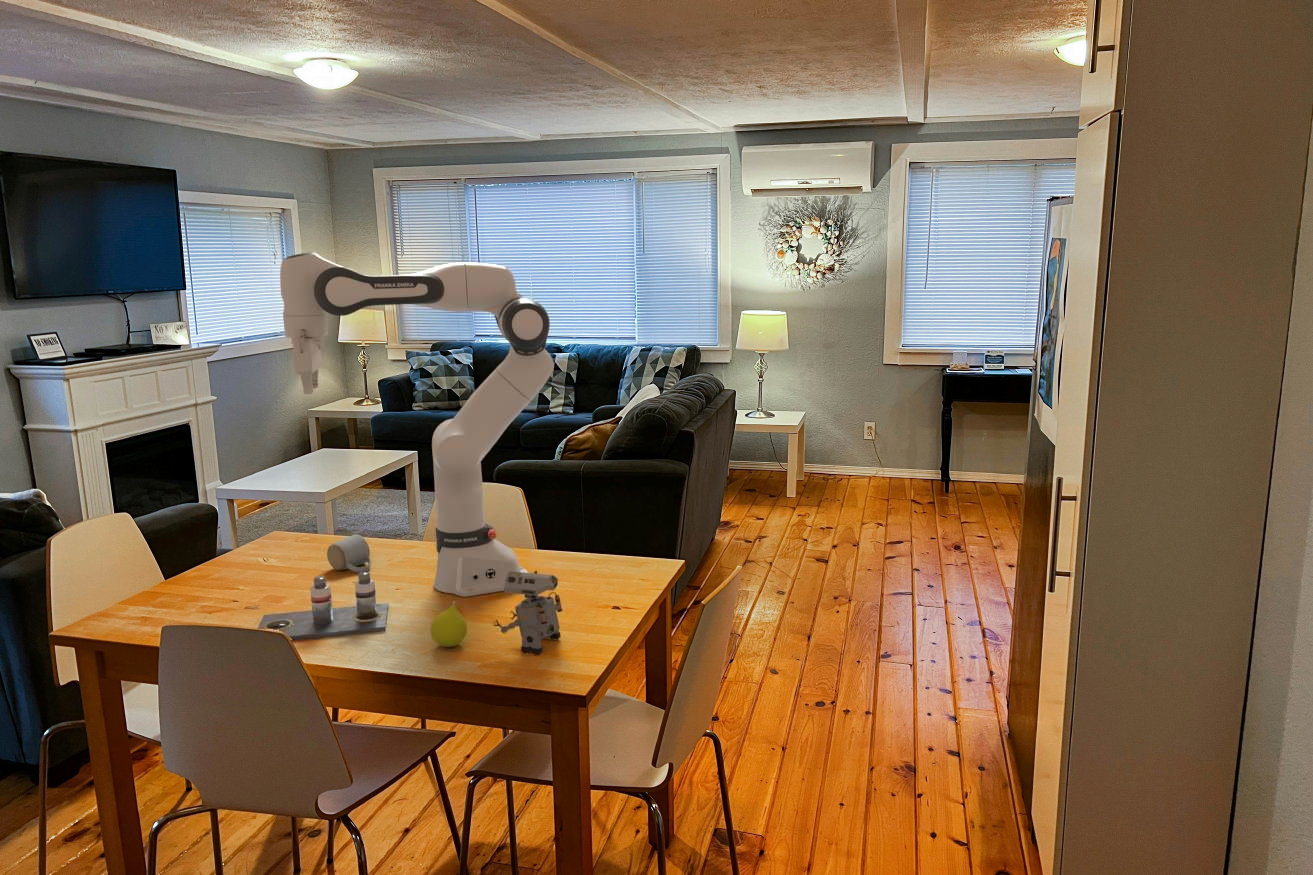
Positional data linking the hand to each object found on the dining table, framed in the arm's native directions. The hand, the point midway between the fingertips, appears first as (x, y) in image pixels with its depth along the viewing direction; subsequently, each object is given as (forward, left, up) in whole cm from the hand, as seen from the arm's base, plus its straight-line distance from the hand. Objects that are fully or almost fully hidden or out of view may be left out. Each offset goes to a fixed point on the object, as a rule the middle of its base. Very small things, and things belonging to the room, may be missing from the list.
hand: (311, 391), depth 206 cm
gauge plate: (-1, +18, -48) cm, 51 cm away
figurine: (-43, +40, -48) cm, 76 cm away
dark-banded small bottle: (-10, +18, -47) cm, 51 cm away
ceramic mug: (-4, -20, -48) cm, 52 cm away
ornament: (-27, +36, -48) cm, 66 cm away
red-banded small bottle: (-1, +18, -47) cm, 50 cm away
